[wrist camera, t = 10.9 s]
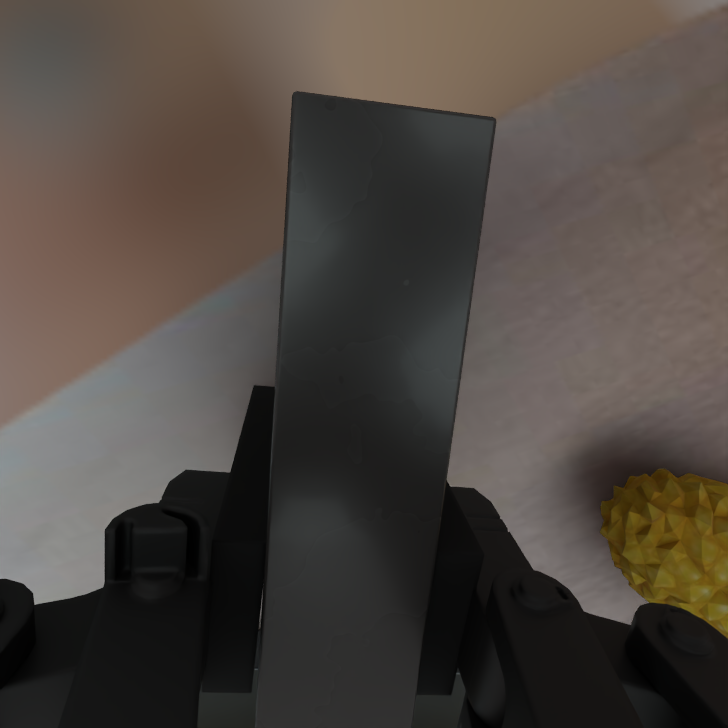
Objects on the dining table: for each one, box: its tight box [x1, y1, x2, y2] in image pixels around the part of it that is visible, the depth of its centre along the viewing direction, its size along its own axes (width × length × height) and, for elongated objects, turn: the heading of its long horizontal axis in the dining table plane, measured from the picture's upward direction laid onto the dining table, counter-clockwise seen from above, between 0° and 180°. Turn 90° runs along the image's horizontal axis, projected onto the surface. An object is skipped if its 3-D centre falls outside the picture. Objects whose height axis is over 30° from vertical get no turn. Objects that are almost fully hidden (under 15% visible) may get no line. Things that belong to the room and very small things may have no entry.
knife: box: [255, 91, 496, 728], centre depth 12 cm, size 23×2×7 cm, turn 174°
